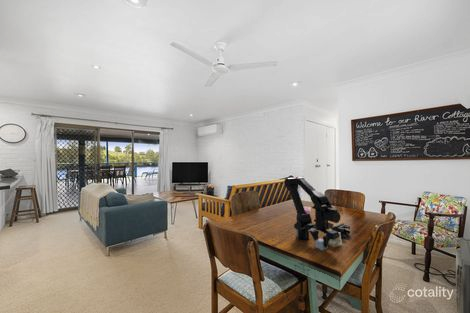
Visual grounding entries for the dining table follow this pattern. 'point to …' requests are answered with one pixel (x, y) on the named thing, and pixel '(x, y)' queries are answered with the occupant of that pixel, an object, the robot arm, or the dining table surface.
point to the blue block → (320, 244)
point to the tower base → (335, 243)
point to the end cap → (342, 230)
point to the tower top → (336, 238)
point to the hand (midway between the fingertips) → (321, 245)
